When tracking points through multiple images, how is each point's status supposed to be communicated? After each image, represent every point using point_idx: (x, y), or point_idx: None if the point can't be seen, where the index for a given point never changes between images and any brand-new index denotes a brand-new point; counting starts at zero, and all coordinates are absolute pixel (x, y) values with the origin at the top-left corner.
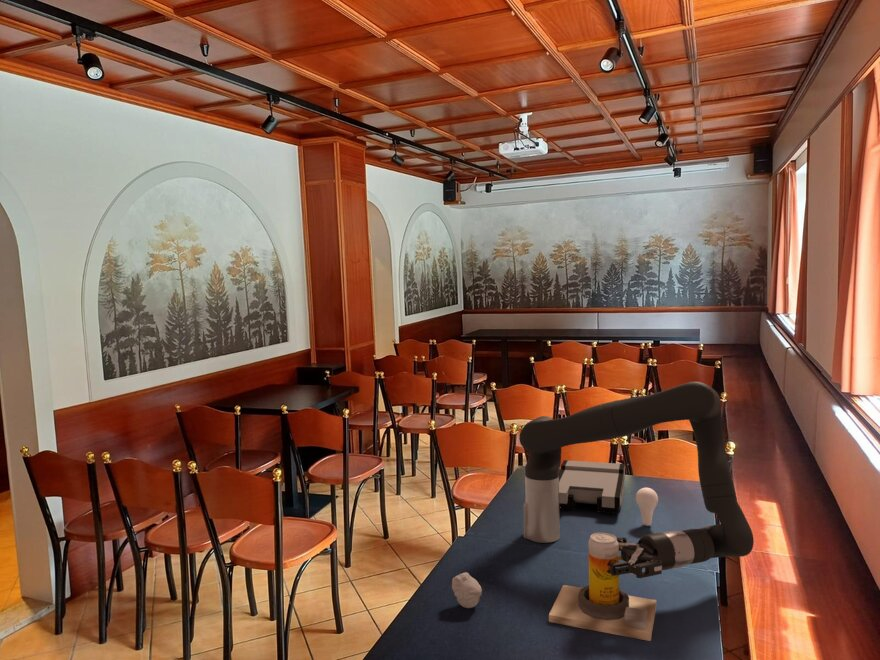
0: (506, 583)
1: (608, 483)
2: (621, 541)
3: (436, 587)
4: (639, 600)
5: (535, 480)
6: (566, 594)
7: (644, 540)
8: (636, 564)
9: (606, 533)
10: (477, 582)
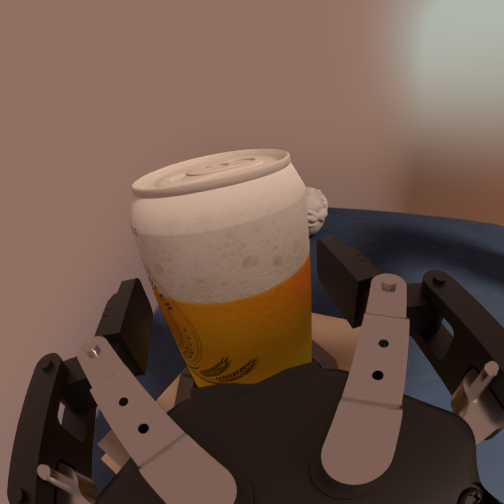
0: (392, 261)
1: None
2: (482, 369)
3: (355, 213)
4: None
5: None
6: (339, 332)
7: None
8: (59, 359)
9: (275, 164)
10: (307, 205)
